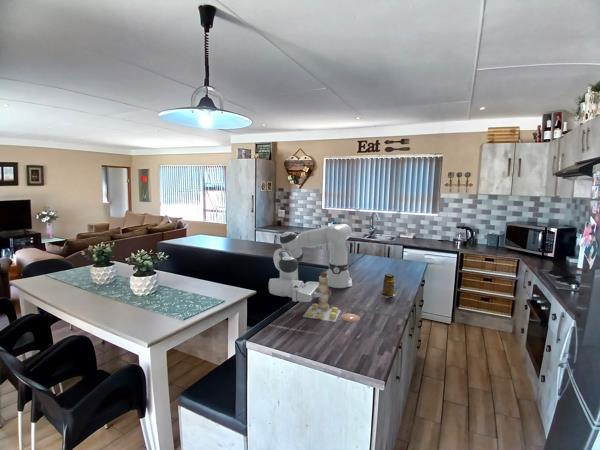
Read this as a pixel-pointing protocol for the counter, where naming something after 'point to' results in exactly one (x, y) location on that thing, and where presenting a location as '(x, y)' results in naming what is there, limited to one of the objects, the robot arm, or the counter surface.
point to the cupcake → (329, 292)
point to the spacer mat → (325, 315)
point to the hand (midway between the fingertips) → (325, 292)
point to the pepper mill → (323, 291)
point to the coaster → (350, 317)
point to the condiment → (388, 286)
